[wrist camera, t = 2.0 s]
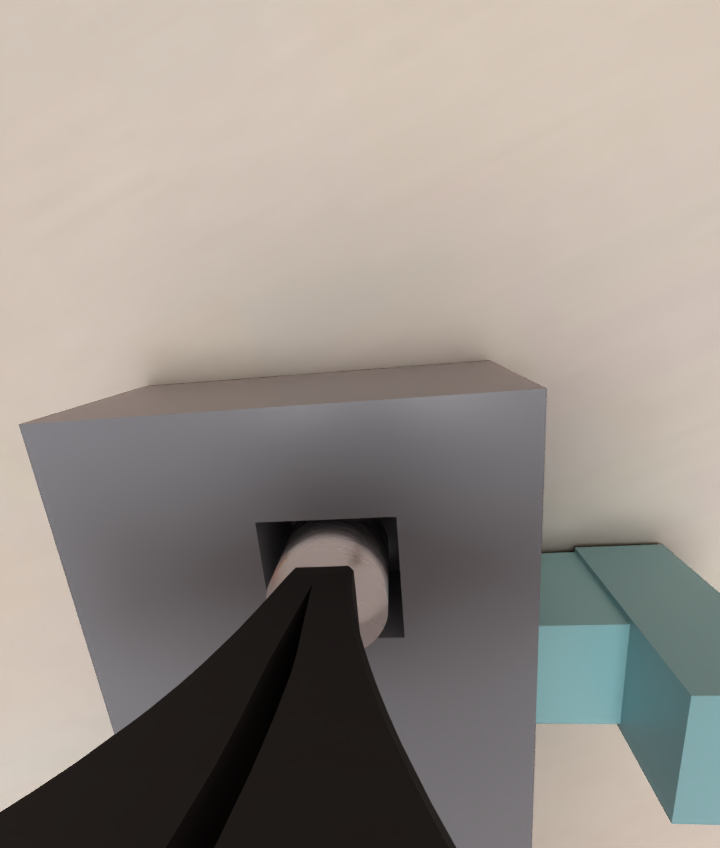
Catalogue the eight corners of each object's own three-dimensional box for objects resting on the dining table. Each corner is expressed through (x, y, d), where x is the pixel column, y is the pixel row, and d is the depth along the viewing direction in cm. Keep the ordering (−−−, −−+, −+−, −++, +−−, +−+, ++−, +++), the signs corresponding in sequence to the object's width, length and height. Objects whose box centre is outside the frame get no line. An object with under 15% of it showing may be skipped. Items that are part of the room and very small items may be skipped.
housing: (490, 767, 18) (528, 941, 13) (229, 763, 19) (172, 922, 14) (489, 360, 14) (546, 388, 9) (145, 386, 15) (19, 424, 10)
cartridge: (651, 637, 16) (804, 826, 10) (269, 642, 17) (207, 811, 11) (662, 544, 15) (839, 695, 9) (255, 557, 16) (178, 696, 10)
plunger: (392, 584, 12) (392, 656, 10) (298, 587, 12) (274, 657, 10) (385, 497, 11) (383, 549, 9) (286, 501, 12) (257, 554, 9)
